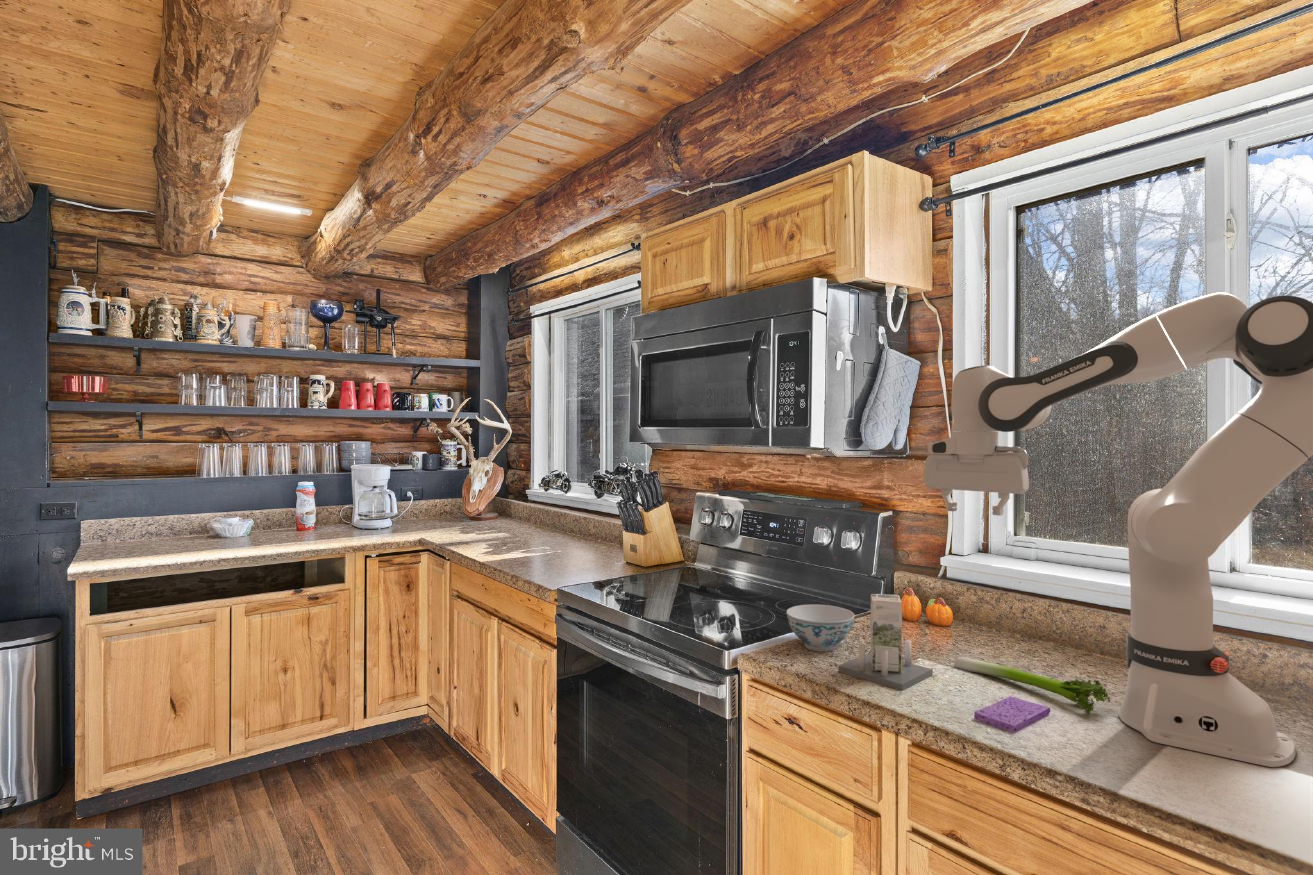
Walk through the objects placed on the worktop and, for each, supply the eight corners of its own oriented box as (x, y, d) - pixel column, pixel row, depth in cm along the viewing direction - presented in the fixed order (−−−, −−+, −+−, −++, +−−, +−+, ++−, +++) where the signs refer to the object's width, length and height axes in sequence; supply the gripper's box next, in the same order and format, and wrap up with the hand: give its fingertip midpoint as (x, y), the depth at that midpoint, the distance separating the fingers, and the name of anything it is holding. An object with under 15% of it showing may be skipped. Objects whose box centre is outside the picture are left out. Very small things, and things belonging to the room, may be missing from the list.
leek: (972, 672, 147) (1121, 712, 121) (949, 683, 144) (1098, 726, 118) (967, 644, 147) (1115, 677, 121) (945, 654, 144) (1092, 690, 118)
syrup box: (899, 664, 143) (899, 593, 143) (902, 674, 137) (902, 600, 137) (870, 662, 145) (870, 592, 144) (871, 671, 139) (871, 599, 139)
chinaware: (862, 657, 151) (862, 621, 151) (793, 657, 151) (793, 622, 151) (844, 636, 166) (844, 604, 166) (781, 636, 166) (781, 604, 166)
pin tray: (932, 675, 140) (932, 644, 140) (902, 690, 132) (902, 658, 132) (869, 658, 151) (869, 629, 150) (838, 671, 143) (838, 641, 142)
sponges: (973, 722, 119) (973, 711, 119) (1010, 704, 127) (1010, 693, 127) (1014, 736, 114) (1014, 725, 114) (1051, 716, 121) (1051, 706, 121)
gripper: (1034, 446, 138) (1034, 516, 138) (934, 444, 153) (934, 507, 153) (1022, 447, 133) (1021, 519, 134) (920, 445, 149) (920, 510, 149)
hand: (974, 513), depth 143 cm, fingers open, 8 cm apart
